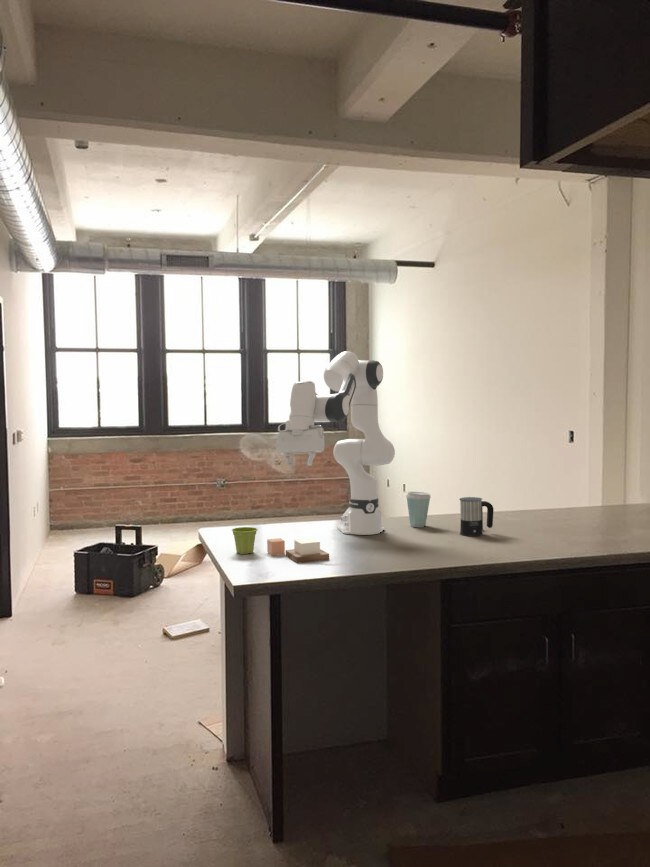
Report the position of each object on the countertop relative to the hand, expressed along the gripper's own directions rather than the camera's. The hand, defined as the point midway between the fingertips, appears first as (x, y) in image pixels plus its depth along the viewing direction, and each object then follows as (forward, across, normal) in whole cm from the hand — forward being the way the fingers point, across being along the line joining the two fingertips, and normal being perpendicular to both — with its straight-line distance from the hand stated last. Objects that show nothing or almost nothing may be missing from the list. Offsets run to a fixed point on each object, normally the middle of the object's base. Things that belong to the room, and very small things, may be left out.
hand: (298, 465), depth 242 cm
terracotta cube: (+31, +18, -9) cm, 37 cm away
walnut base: (+31, +4, -12) cm, 34 cm away
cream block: (+29, +4, -11) cm, 32 cm away
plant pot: (+31, +28, -3) cm, 42 cm away
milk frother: (+19, -17, -87) cm, 90 cm away
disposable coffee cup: (+17, +7, -84) cm, 86 cm away
